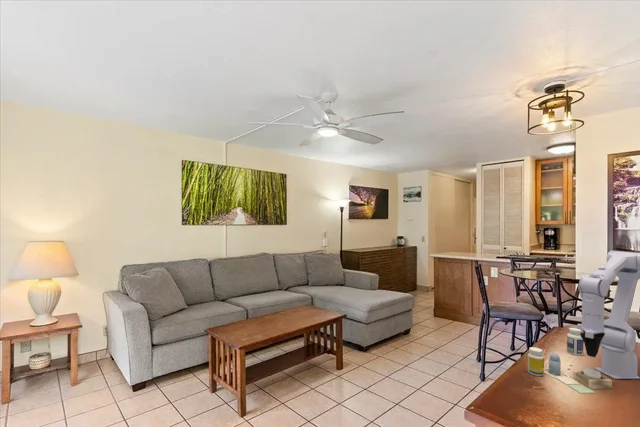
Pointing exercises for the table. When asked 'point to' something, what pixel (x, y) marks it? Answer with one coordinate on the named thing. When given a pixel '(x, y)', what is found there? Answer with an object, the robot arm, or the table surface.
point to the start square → (555, 376)
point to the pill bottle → (575, 342)
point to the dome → (592, 373)
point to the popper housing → (592, 381)
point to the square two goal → (581, 389)
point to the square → (567, 380)
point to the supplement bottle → (535, 361)
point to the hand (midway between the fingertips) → (592, 354)
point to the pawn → (554, 364)
